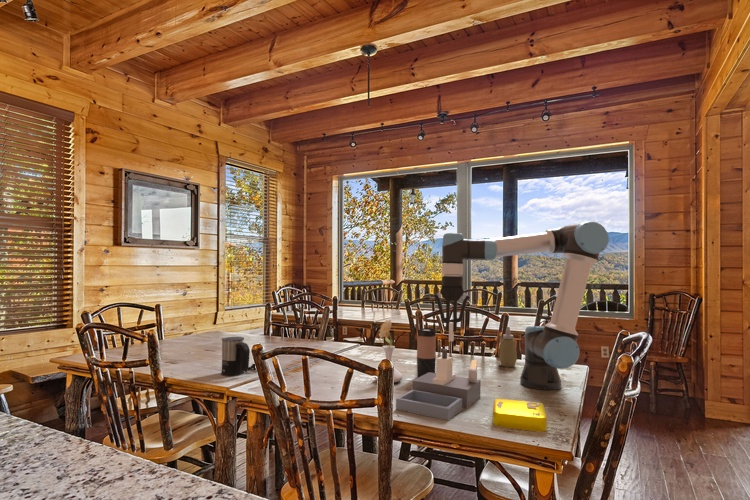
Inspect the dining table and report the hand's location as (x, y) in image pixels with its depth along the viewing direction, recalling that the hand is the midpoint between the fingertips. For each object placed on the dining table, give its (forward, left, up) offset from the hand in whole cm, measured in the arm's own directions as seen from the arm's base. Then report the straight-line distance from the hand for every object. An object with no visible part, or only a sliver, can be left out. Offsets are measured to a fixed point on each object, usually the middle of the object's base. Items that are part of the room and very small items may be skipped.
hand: (451, 340), depth 159 cm
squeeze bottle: (-6, -57, -20) cm, 61 cm away
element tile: (-27, +13, -20) cm, 36 cm away
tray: (0, +19, -19) cm, 27 cm away
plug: (0, +5, -16) cm, 17 cm away
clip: (-7, -6, -13) cm, 16 cm away
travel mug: (+17, -16, -20) cm, 31 cm away
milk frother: (+86, +20, -20) cm, 90 cm away
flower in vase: (+27, -2, -20) cm, 33 cm away
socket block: (0, +4, -19) cm, 20 cm away
